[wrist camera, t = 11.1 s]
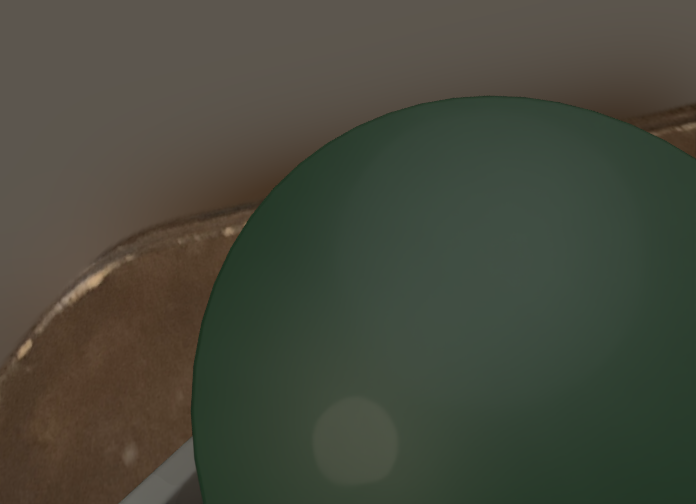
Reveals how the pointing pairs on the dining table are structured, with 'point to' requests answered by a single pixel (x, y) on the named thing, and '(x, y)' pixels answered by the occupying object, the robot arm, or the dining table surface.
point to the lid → (459, 318)
